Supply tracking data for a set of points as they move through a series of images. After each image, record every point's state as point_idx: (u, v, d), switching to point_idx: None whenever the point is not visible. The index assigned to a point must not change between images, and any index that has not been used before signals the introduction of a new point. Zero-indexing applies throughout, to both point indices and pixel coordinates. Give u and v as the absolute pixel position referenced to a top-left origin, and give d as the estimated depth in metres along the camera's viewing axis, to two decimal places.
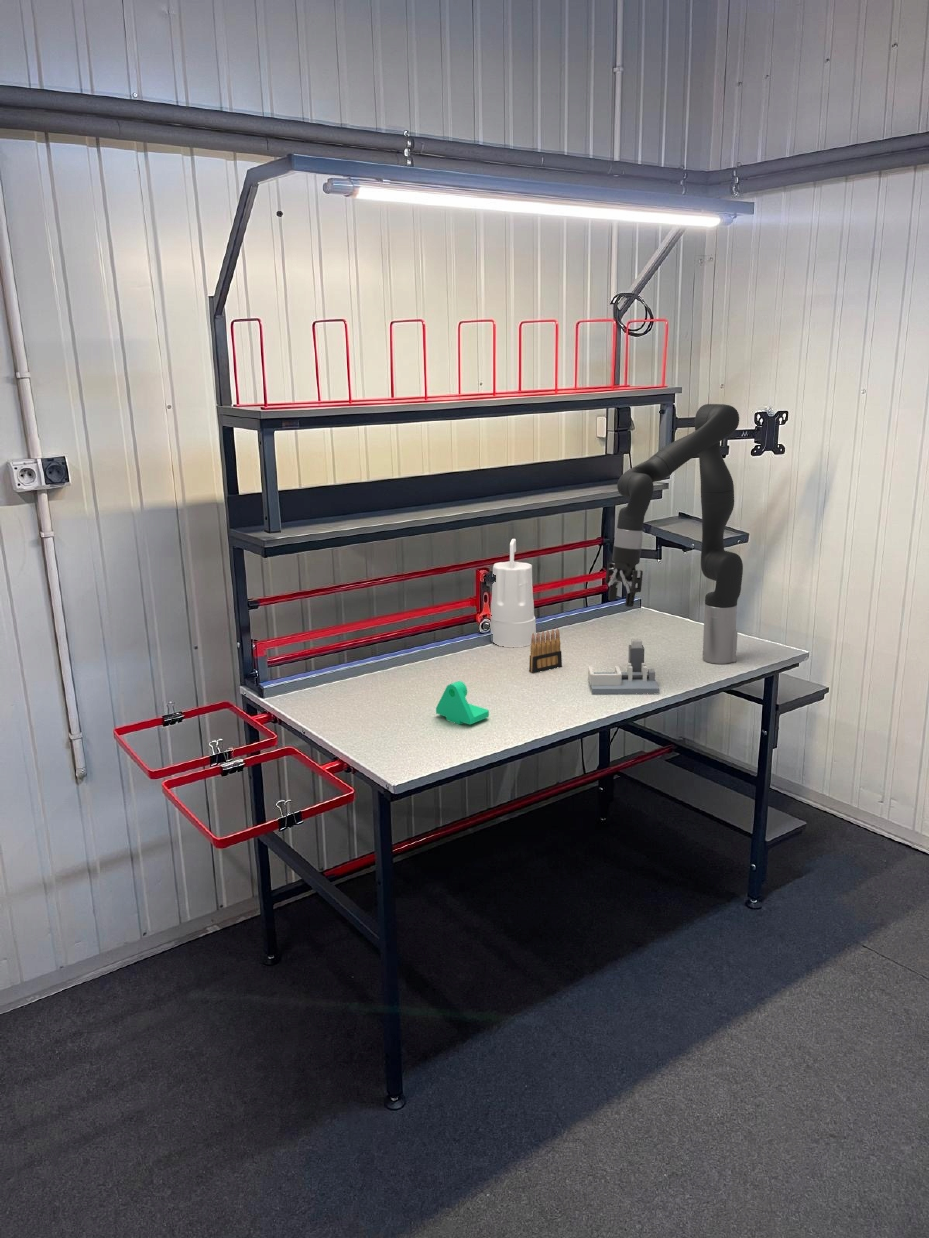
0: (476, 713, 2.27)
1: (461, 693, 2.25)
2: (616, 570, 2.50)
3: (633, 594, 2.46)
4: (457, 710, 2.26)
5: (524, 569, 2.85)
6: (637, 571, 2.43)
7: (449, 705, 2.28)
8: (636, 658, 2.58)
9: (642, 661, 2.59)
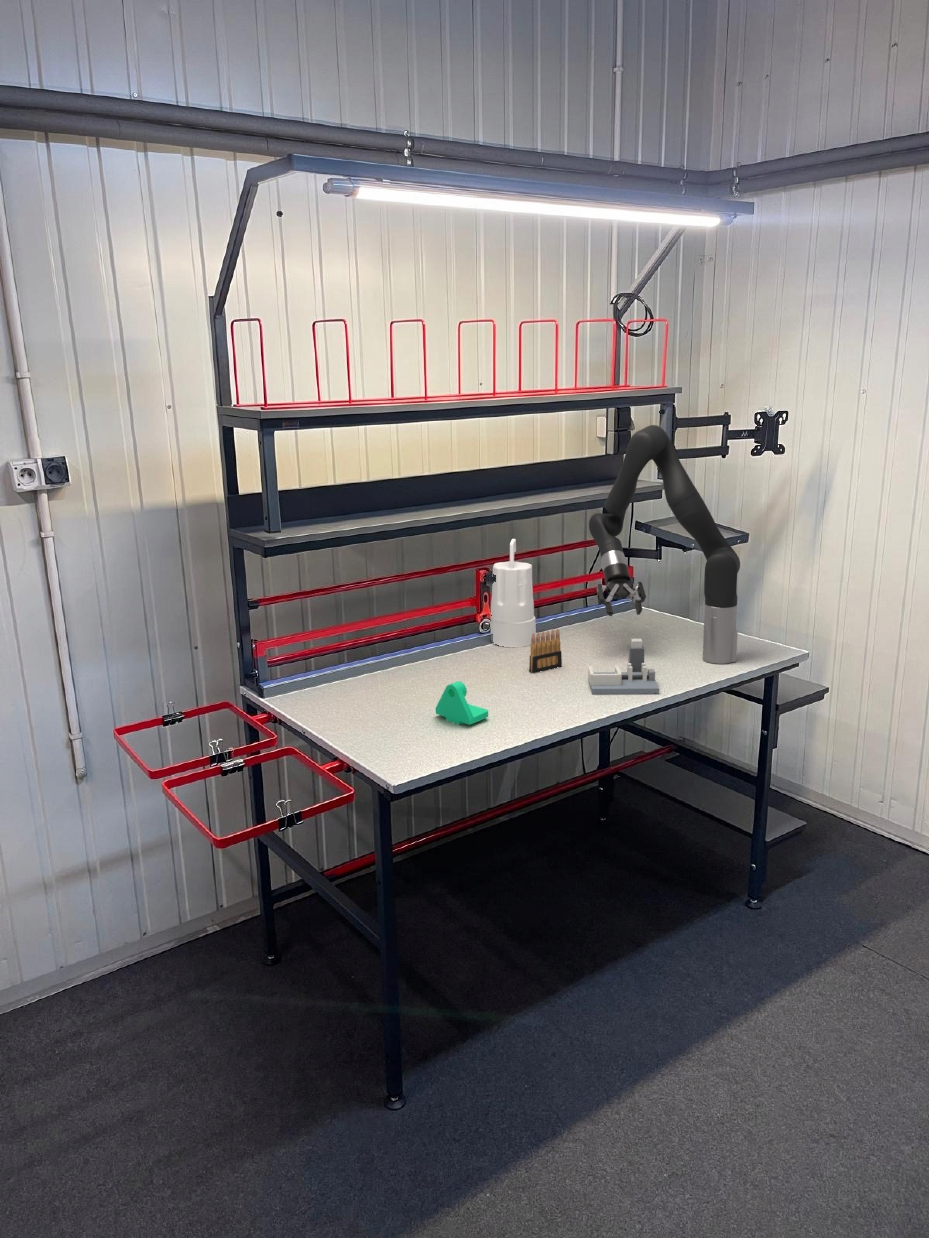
0: (476, 713, 2.27)
1: (461, 693, 2.25)
2: None
3: (605, 604, 2.70)
4: (457, 710, 2.26)
5: (524, 569, 2.85)
6: None
7: (448, 705, 2.28)
8: (636, 658, 2.58)
9: (642, 661, 2.59)
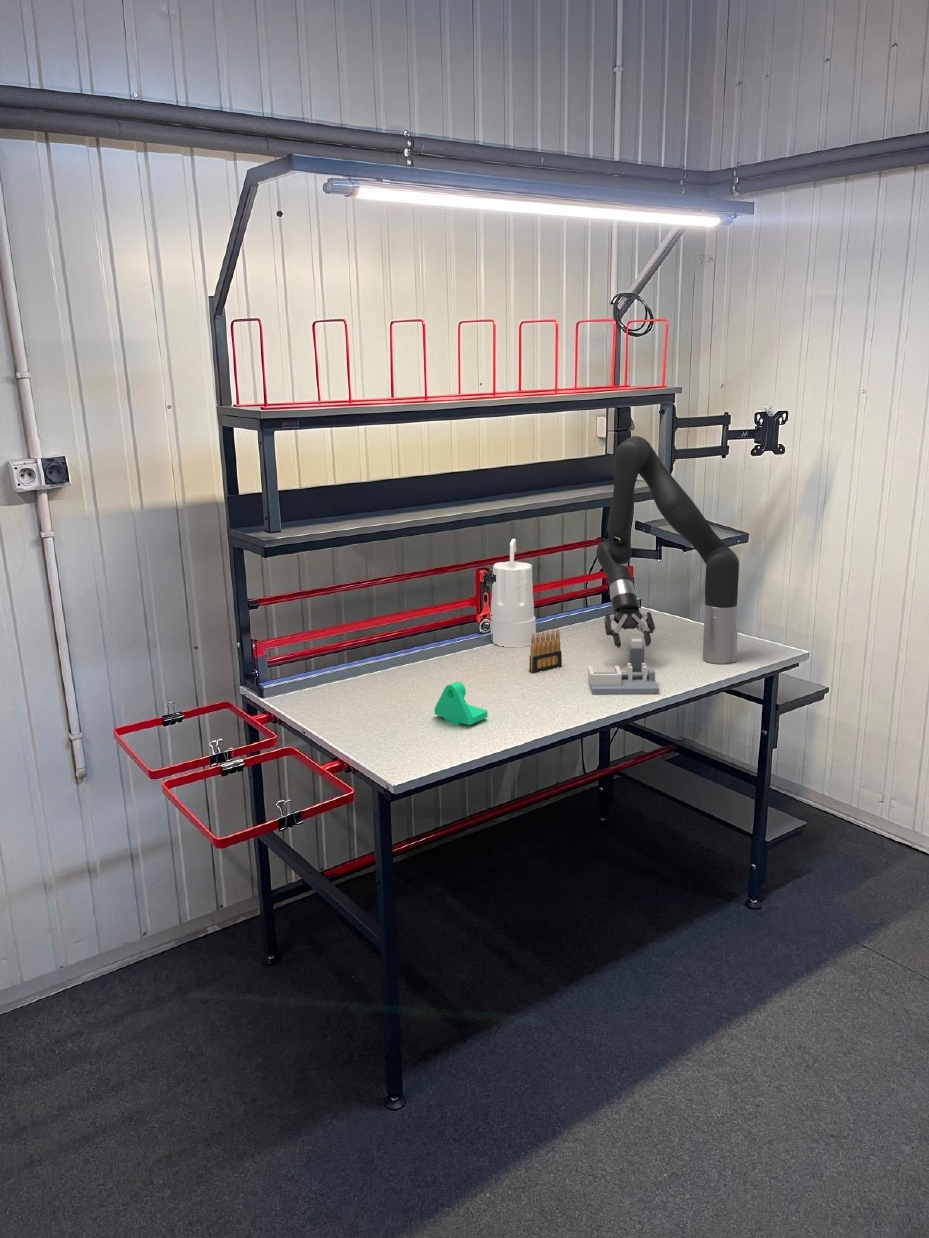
0: (475, 713, 2.27)
1: (460, 693, 2.25)
2: None
3: (613, 635, 2.63)
4: (456, 710, 2.26)
5: (524, 569, 2.85)
6: (605, 617, 2.67)
7: (448, 706, 2.28)
8: (636, 658, 2.58)
9: (642, 661, 2.59)
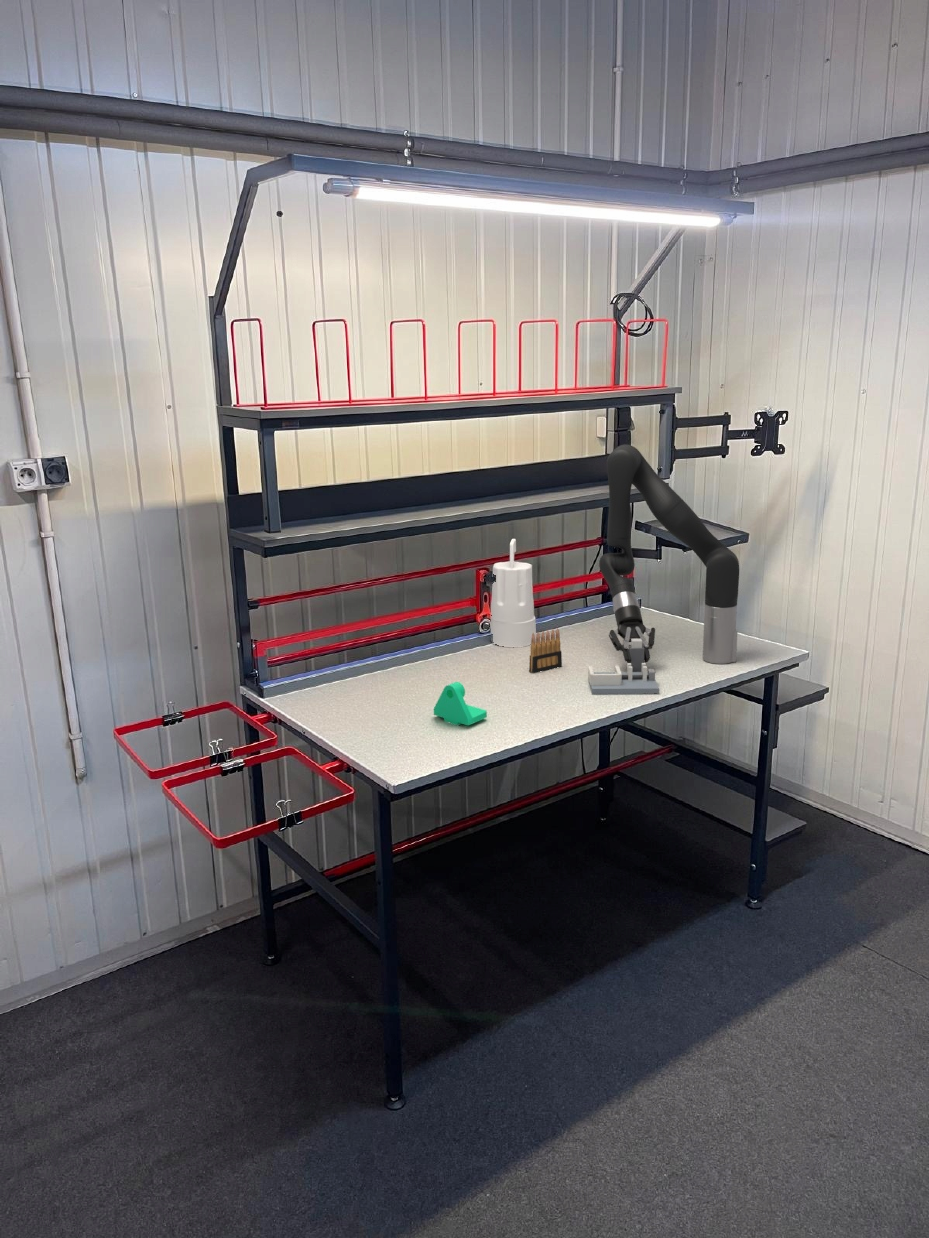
0: (474, 714, 2.27)
1: (459, 694, 2.25)
2: None
3: (623, 651, 2.60)
4: (455, 710, 2.26)
5: (524, 569, 2.85)
6: (609, 633, 2.63)
7: (447, 706, 2.27)
8: (636, 658, 2.58)
9: (642, 661, 2.59)
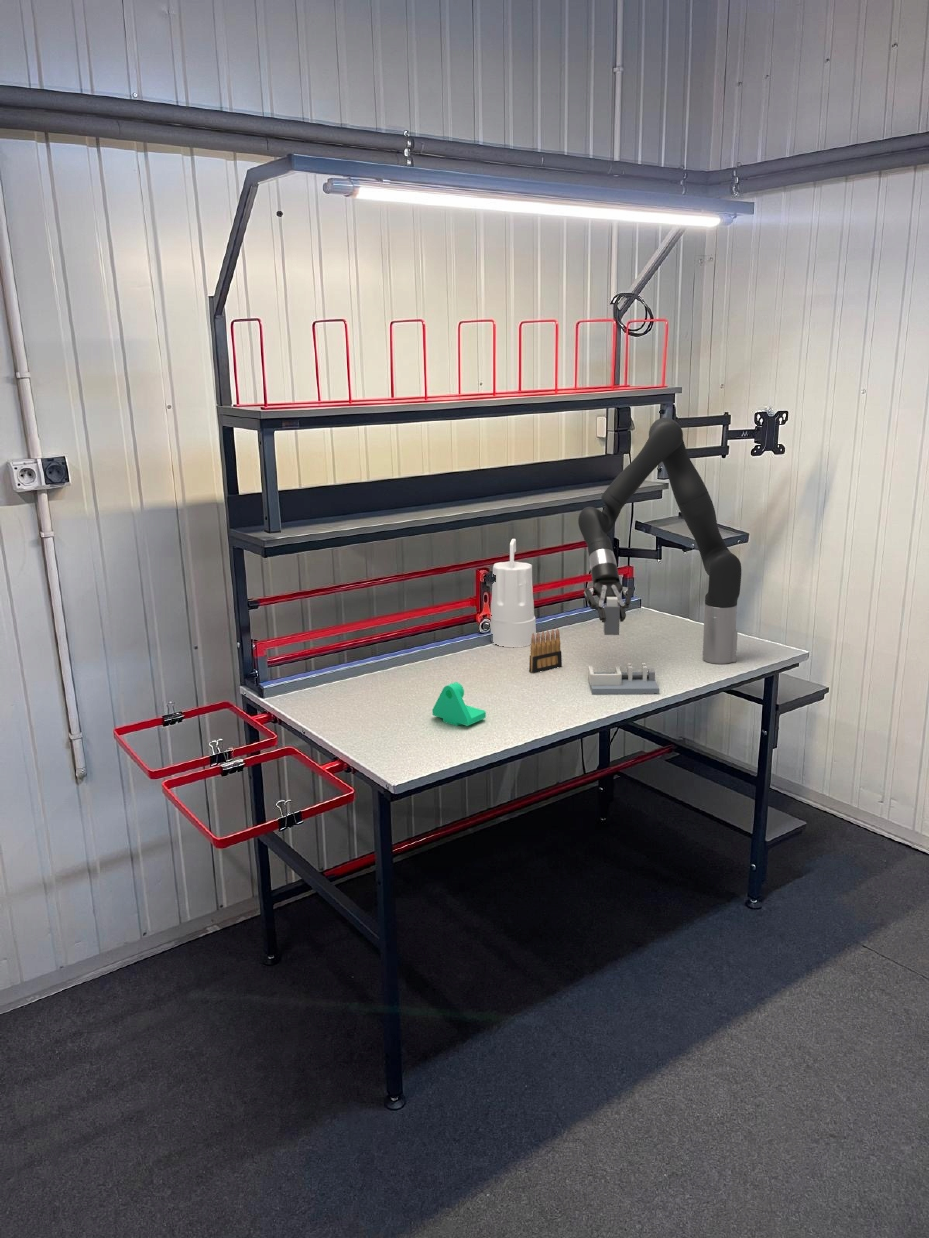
0: (473, 714, 2.27)
1: (458, 694, 2.24)
2: None
3: (598, 609, 2.50)
4: (454, 711, 2.25)
5: (524, 569, 2.85)
6: (584, 591, 2.53)
7: (446, 707, 2.27)
8: (611, 617, 2.48)
9: (617, 620, 2.48)
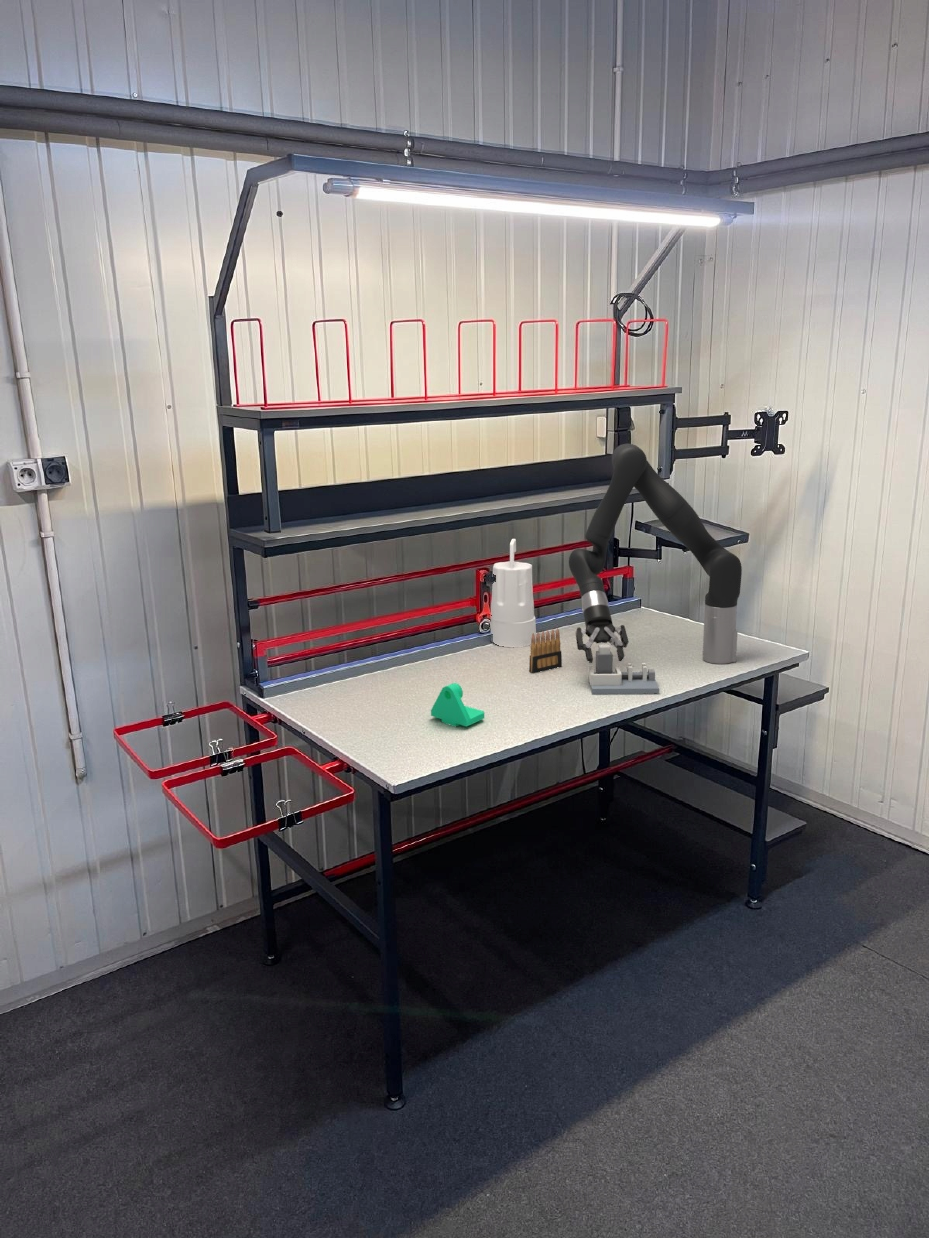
0: (472, 714, 2.26)
1: (457, 695, 2.24)
2: None
3: (585, 650, 2.49)
4: (453, 712, 2.25)
5: (524, 569, 2.85)
6: None
7: (445, 707, 2.27)
8: (604, 665, 2.48)
9: (610, 668, 2.48)
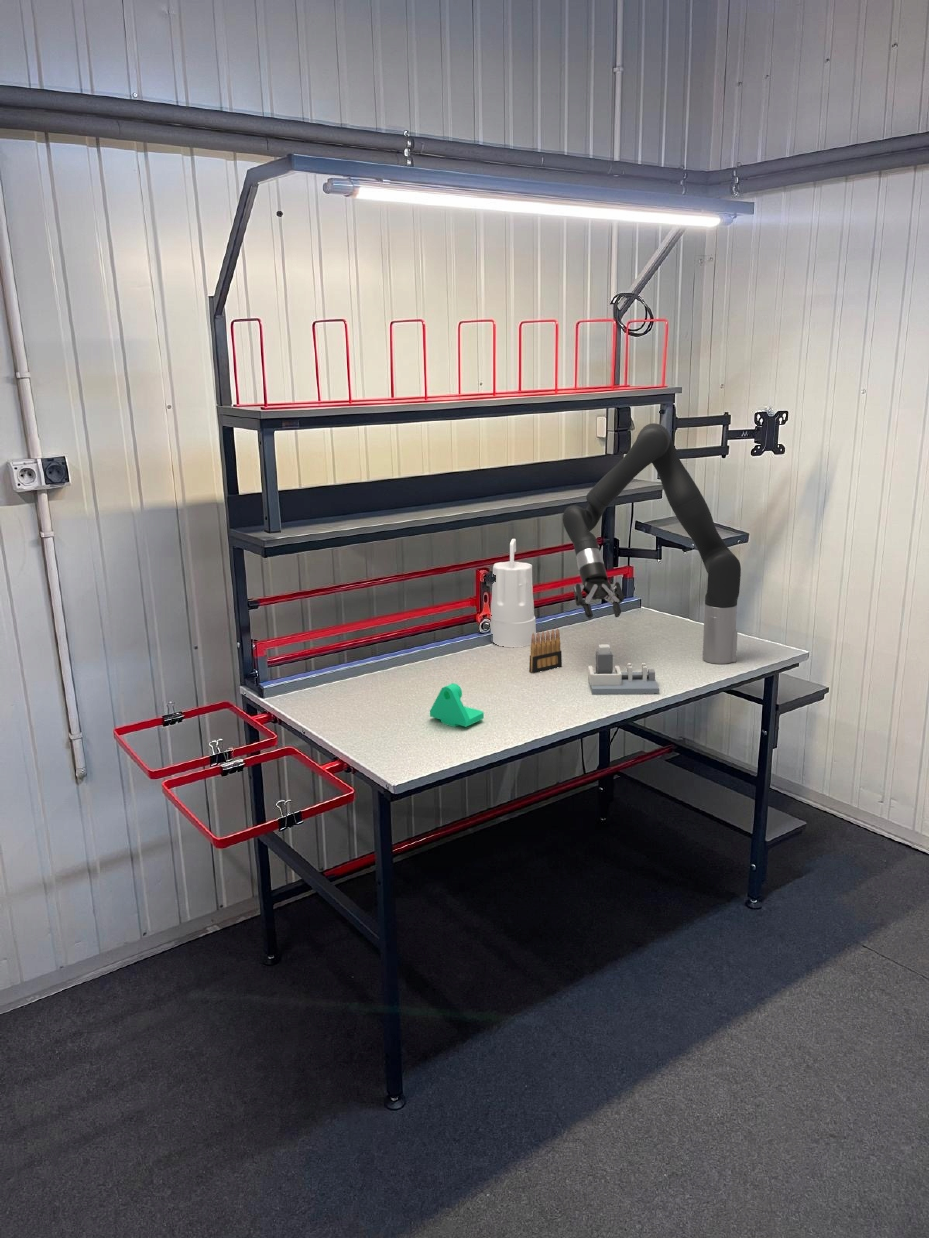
0: (471, 715, 2.26)
1: (456, 695, 2.24)
2: None
3: (584, 606, 2.57)
4: (452, 712, 2.25)
5: (524, 569, 2.85)
6: None
7: (444, 708, 2.26)
8: (604, 665, 2.48)
9: (610, 668, 2.48)
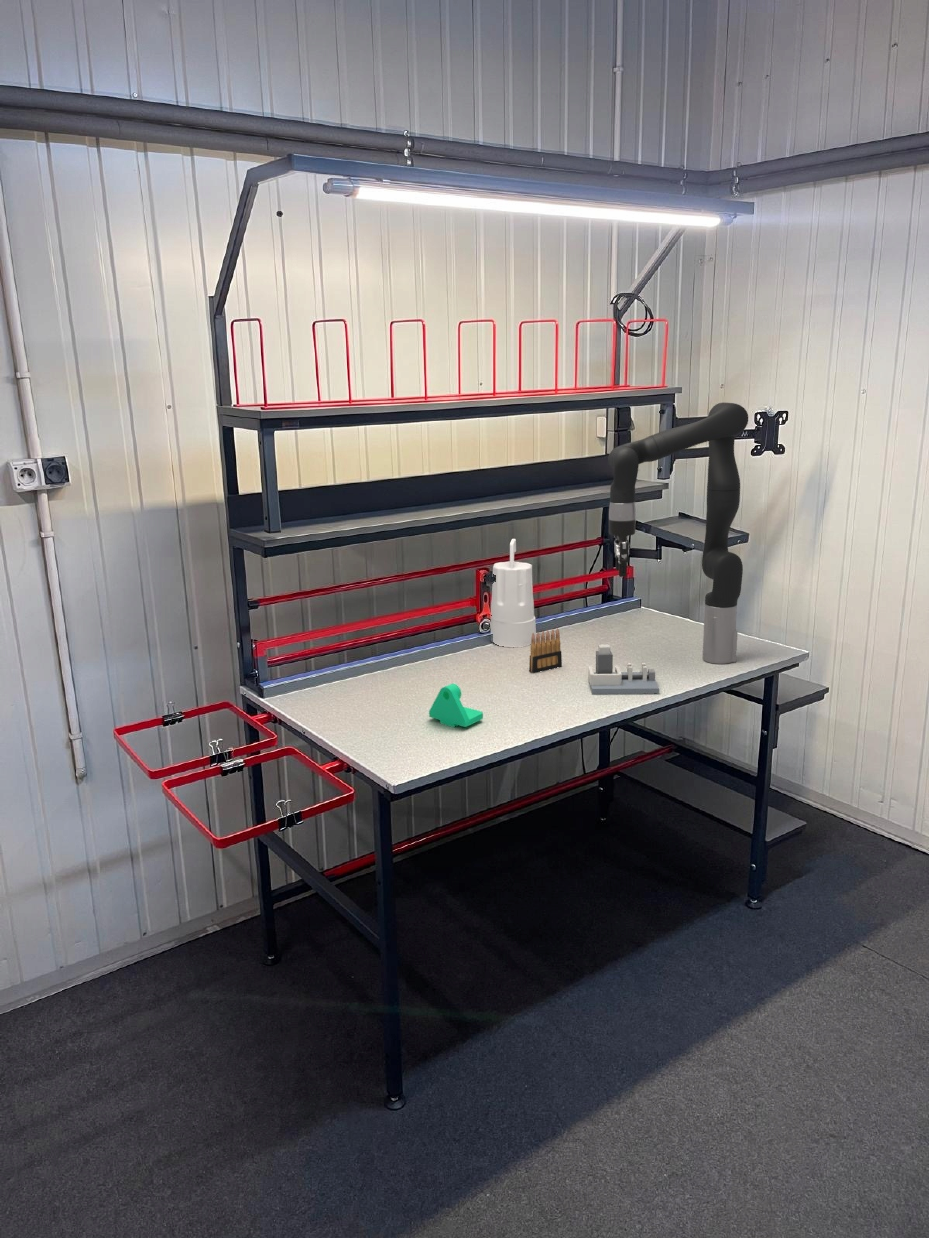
0: (471, 715, 2.26)
1: (456, 695, 2.24)
2: (614, 541, 2.60)
3: (624, 565, 2.55)
4: (452, 712, 2.24)
5: (524, 569, 2.85)
6: (622, 542, 2.52)
7: (443, 708, 2.26)
8: (604, 665, 2.48)
9: (610, 668, 2.48)
